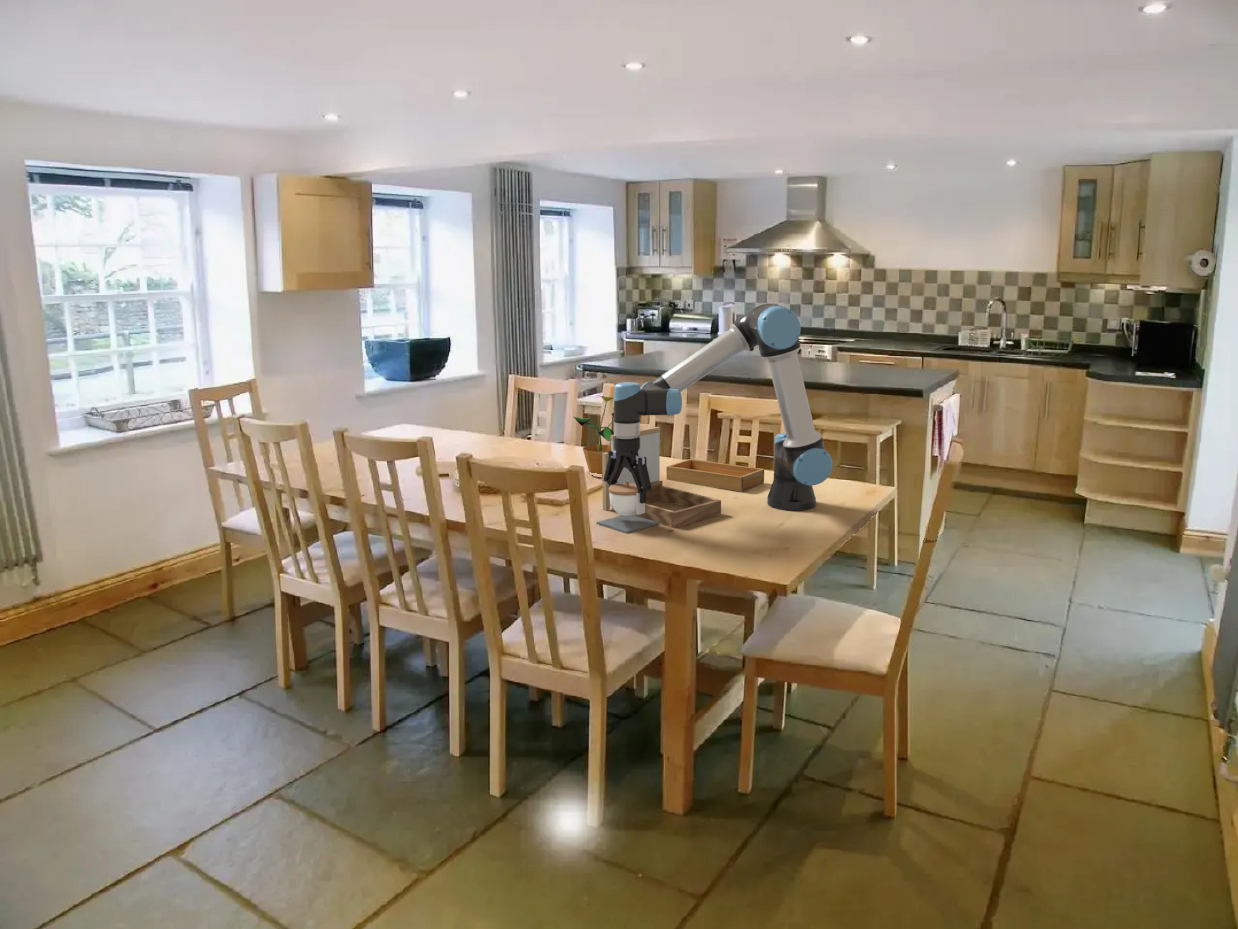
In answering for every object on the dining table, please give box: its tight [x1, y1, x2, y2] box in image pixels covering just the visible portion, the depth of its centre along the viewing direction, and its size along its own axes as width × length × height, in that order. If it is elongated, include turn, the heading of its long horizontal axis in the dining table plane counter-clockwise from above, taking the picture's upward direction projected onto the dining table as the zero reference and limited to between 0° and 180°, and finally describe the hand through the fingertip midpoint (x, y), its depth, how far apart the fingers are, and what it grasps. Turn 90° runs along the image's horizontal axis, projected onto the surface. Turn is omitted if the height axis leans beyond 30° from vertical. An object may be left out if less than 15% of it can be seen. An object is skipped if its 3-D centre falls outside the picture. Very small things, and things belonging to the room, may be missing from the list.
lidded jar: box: [609, 482, 642, 516], centre depth 272 cm, size 11×11×9 cm
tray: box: [665, 458, 765, 492], centre depth 323 cm, size 31×15×6 cm, turn 52°
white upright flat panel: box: [601, 426, 661, 511], centre depth 293 cm, size 3×22×24 cm, turn 133°
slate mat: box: [596, 515, 659, 534], centre depth 274 cm, size 13×13×1 cm
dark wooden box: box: [612, 480, 722, 529], centre depth 285 cm, size 26×20×6 cm
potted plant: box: [573, 395, 614, 474], centre depth 331 cm, size 18×19×30 cm
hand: (627, 509), depth 273 cm, fingers closed on lidded jar, 11 cm apart
